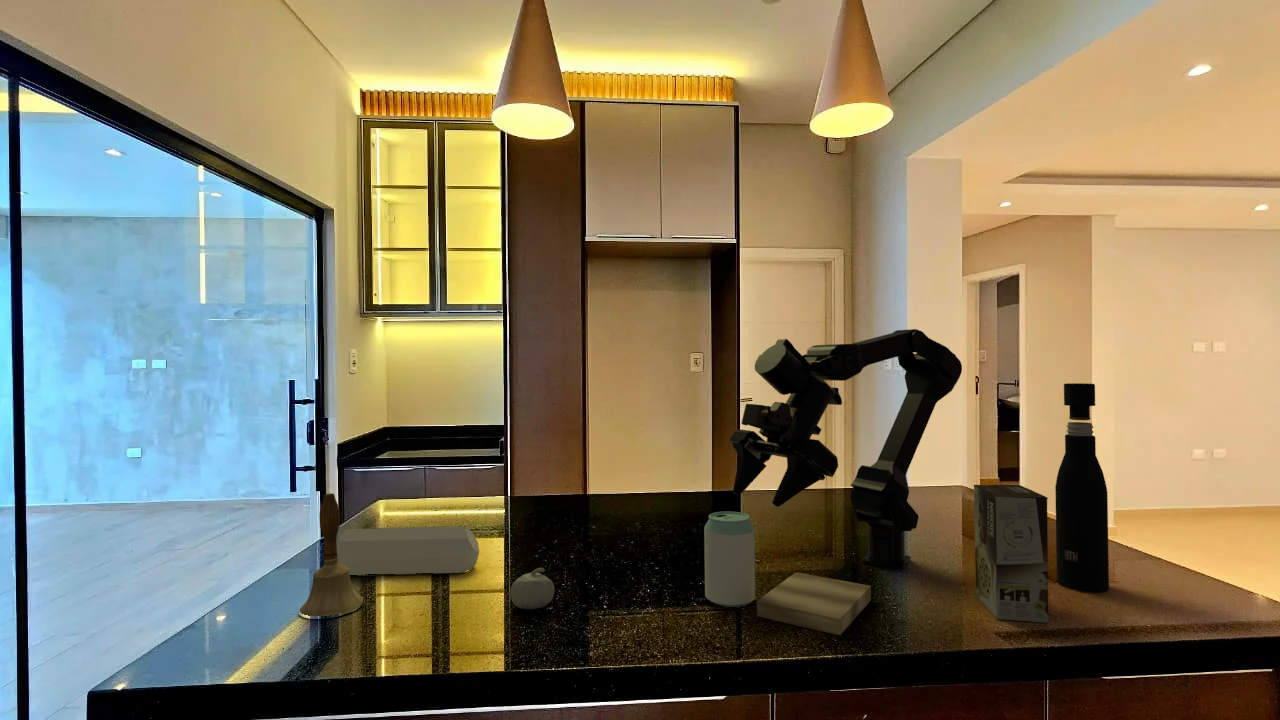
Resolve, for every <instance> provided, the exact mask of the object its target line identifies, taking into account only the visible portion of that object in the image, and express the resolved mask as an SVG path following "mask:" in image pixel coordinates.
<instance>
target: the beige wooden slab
mask: <svg viewBox="0 0 1280 720" xmlns="http://www.w3.org/2000/svg"><path fill="white" fill-rule="evenodd" d="M871 601H872V586H871V585H869V584H861V583H856V582H851V581H845V580H840V579H834V578H830V577H825V576H818V575H814V574H809V573H803V572H794V573H793V574H791V575H790V576H789V577H788V578H785V580H783V581H782V582H781V583H779V584H778V585H777V586H775V587H774V588H772V589H771V590H770V591H769V592H767V593H766V594H764V595H763V596H761V597H760V598H759V599H758V600H756V617H759V616H760V618H763V619H769V620H772V621H777V622H781V623H785V624H789V625H790V624H791V625H792V626H793V625H794V626H798V627H803V628H807V629H811V630H815V631H820V632H823V633H824V632H825V633H828V634H832V635H836V636H842V634H843V633H844V631H846V630H847V628H849V626H850V625H851V624H852V622H854V620H855V619H856V618H857V617H858V616H859V615H860V614H861V612H862V611H863V610H864V609H865V608H866V607H867V605H868V604H870V602H871Z"/></svg>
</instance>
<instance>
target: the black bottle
mask: <svg viewBox="0 0 1280 720" xmlns="http://www.w3.org/2000/svg"><path fill="white" fill-rule="evenodd" d="M1063 406H1069V416H1068V418H1069V420H1070V421H1069V422H1067V425H1066V428H1067V430H1066V434H1065V436H1064V449H1065V450H1064V451H1065V452H1064V455H1063V457H1062V460H1061V463H1060V466H1059V468H1058V472H1057V476H1056V481H1055V486H1054V487H1055V490H1054V491H1055V540H1056V542H1055V544H1056V545H1055V546H1056V547H1055V548H1056V549H1055V551H1056V552H1055V553H1056V554H1055V555H1056V582H1057V583H1058V585H1060V586H1062V587H1064V588H1066V587H1067V589H1069V588H1070V590H1073V589H1075V590H1074V591H1077V590H1078V591H1077V592H1083V591H1084V592H1083V593H1091V592H1093V594H1094V593H1096V594H1097V593H1099V594H1100V593H1101V594H1102V593H1106V592H1108V591H1109V590H1110V572H1109V571H1110V570H1109V569H1110V568H1109V567H1110V566H1109V565H1110V564H1109V561H1110V560H1109V513H1108V511H1109V509H1108V507H1109V506H1108V503H1109V501H1108V498H1109V497H1108V487H1107V484H1106V483H1107V482H1106V480H1105V475H1104V471H1103V470H1102V467H1101V465H1100V462H1099V459H1098V457H1097V455H1096V453H1097V451H1096V448H1097V446H1096V436H1095V435H1093V433H1094V430H1093V429H1094V426H1093V423H1092V422H1084V421H1090V420H1091V413H1090V411H1091V410H1090V408H1091V407H1095V406H1096V384H1095V383H1085V382H1084V383H1081V382H1080V383H1078V382H1077V383H1075V382H1073V383H1070V382H1069V383H1063ZM1071 420H1072V421H1071ZM1078 421H1080V422H1078Z"/></svg>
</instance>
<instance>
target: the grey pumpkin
mask: <svg viewBox="0 0 1280 720" xmlns="http://www.w3.org/2000/svg"><path fill="white" fill-rule="evenodd" d="M544 572H545V568H544V567H539V568H536V569H534V570H533V571H532V572H529V573H525V574H522V575H521V576H520V577H518V578H517V579H516V580H515V581H514V582H513V583H512V585H511V588H510V599H511V601H512V603H513V604H514V605H515V606H516V607H517V608H518V609H521V610H536V609H541V608H545V607H547V605H548V604H550V603H551V602H552V600H553V598H554V596H555V585H554V582H553V581H552V580H551V579H549V577H548V576H546V575H543V574H542V573H544Z"/></svg>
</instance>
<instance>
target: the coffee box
mask: <svg viewBox="0 0 1280 720" xmlns="http://www.w3.org/2000/svg"><path fill="white" fill-rule="evenodd" d="M1048 499H1049V498H1048V497H1047V496H1045V495H1043V494H1040V493H1039V492H1036V491H1034V490H1032V489H1030V488H1028V487H1025V486H1022V485H1021V484H973V512H974V513H973V514H974V515H973V517H974V519H973V520H974V553H975V554H974V556H975V558H974V559H975V560H974V562H975V563H974V565H975V566H974V567H975V596H976V598H977V599H979V601H980V602H981V603H982V604H983V605H984V606H985V607H986V608H987V610H989V612H991V614H992V615H993V616H994V617H995V618H996V619H998V620H1002V621H1003V620H1005V621H1015V622H1016V621H1018V622H1031V623H1043V624H1047V623H1049V554H1048V553H1049V552H1048V550H1049V549H1048V545H1049V544H1048V542H1049V540H1048V539H1049V538H1048Z"/></svg>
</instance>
